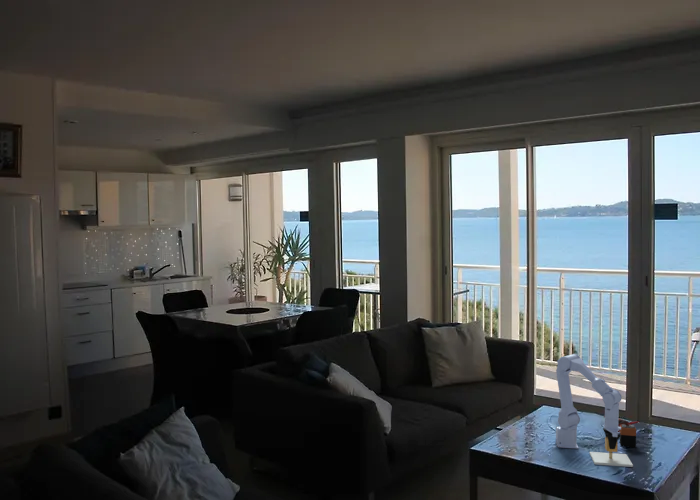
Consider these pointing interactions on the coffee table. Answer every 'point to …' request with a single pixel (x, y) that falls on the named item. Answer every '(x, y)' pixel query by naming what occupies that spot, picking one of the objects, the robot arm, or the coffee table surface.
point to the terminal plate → (610, 459)
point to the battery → (628, 436)
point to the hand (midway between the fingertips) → (611, 446)
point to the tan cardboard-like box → (608, 446)
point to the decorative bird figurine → (624, 423)
